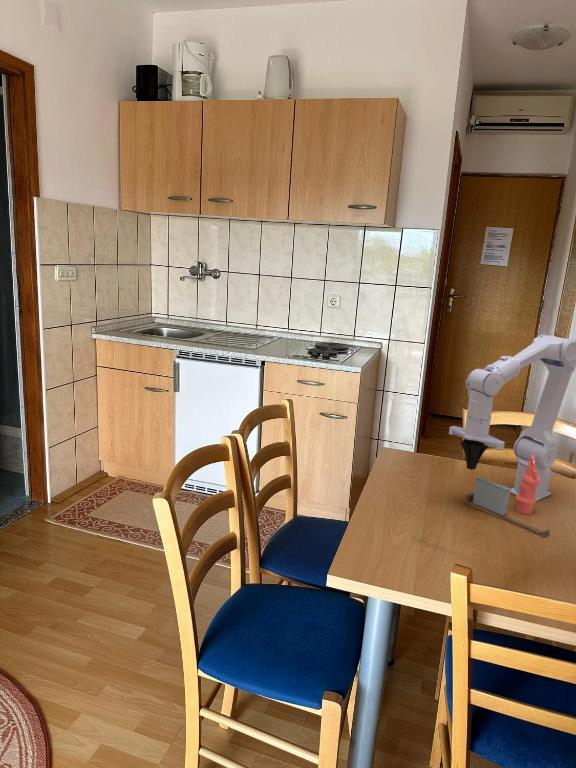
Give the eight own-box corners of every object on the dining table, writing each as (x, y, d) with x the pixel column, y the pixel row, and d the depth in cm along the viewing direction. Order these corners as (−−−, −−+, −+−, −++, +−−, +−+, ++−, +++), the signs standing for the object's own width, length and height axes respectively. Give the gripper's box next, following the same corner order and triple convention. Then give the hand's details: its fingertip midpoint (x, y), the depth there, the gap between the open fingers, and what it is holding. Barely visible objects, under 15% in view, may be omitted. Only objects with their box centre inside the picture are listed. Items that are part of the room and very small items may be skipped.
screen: (476, 500, 143) (480, 476, 141) (507, 513, 136) (511, 488, 135) (472, 502, 142) (475, 478, 140) (502, 515, 135) (506, 490, 133)
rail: (471, 500, 145) (472, 492, 144) (549, 534, 129) (551, 525, 128) (464, 503, 143) (465, 494, 142) (543, 537, 127) (544, 528, 126)
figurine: (537, 516, 138) (546, 460, 134) (515, 513, 139) (524, 458, 135) (532, 507, 143) (541, 453, 139) (511, 505, 144) (520, 451, 140)
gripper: (444, 412, 139) (438, 462, 142) (496, 427, 128) (488, 481, 131) (460, 408, 143) (454, 457, 146) (512, 423, 132) (503, 475, 135)
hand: (471, 468), depth 139 cm, fingers closed
